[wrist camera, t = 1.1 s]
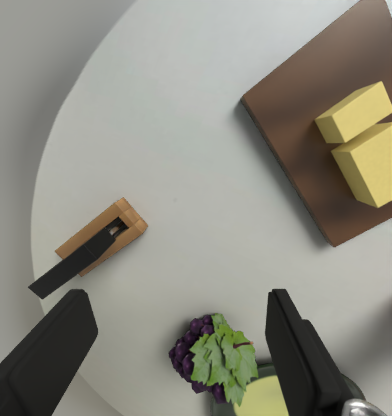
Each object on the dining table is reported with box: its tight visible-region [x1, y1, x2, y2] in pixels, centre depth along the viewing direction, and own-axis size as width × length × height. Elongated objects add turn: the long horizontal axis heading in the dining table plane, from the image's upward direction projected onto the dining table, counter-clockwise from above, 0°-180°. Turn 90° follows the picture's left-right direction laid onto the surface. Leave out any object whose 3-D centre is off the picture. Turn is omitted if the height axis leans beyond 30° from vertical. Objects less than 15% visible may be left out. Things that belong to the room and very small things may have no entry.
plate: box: [211, 363, 366, 416], centre depth 36 cm, size 28×28×2 cm
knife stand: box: [55, 198, 148, 277], centre depth 26 cm, size 5×12×2 cm, turn 127°
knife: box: [28, 221, 125, 299], centre depth 23 cm, size 2×9×9 cm, turn 127°
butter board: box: [240, 0, 392, 247], centre depth 21 cm, size 22×14×2 cm, turn 37°
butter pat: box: [315, 81, 392, 143], centre depth 18 cm, size 3×4×3 cm, turn 127°
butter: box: [331, 122, 392, 208], centre depth 20 cm, size 7×4×3 cm, turn 37°
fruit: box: [169, 313, 258, 407], centre depth 28 cm, size 10×11×15 cm
